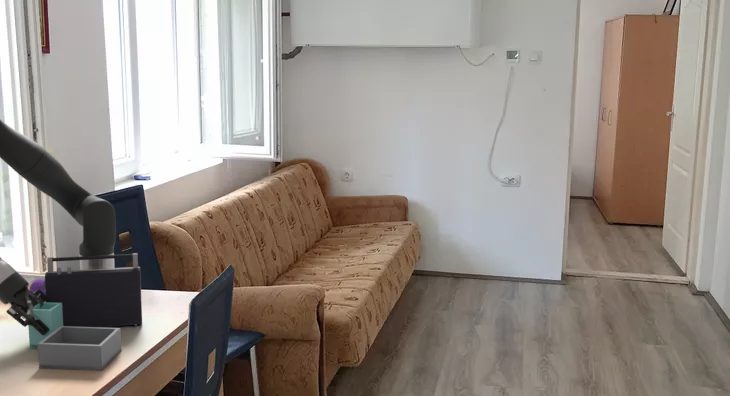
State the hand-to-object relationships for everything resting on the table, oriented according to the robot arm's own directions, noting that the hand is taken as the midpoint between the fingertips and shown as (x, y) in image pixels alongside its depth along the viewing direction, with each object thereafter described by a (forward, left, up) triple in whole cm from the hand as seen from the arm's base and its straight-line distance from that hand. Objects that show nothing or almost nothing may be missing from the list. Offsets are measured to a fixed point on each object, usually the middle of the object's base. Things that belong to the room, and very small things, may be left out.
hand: (52, 327), depth 186 cm
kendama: (-14, -39, -5) cm, 42 cm away
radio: (-13, -7, -5) cm, 15 cm away
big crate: (-3, +14, -4) cm, 15 cm away
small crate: (+1, -1, -4) cm, 5 cm away
